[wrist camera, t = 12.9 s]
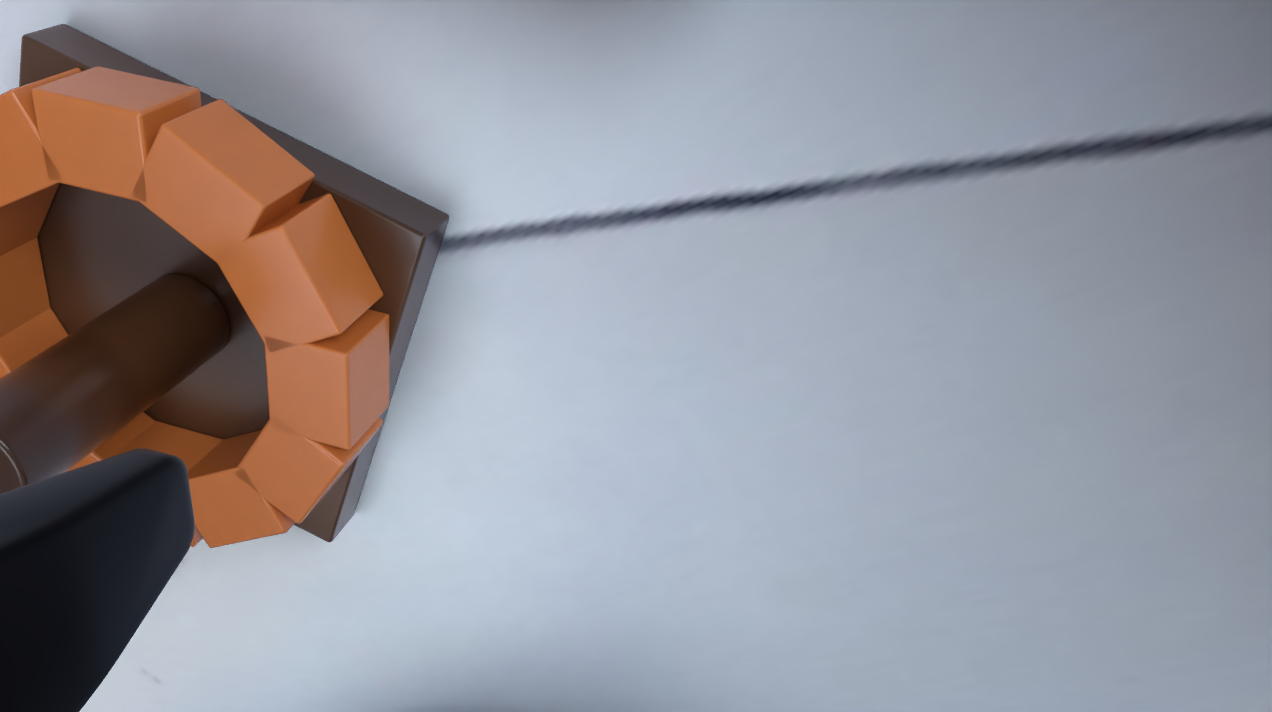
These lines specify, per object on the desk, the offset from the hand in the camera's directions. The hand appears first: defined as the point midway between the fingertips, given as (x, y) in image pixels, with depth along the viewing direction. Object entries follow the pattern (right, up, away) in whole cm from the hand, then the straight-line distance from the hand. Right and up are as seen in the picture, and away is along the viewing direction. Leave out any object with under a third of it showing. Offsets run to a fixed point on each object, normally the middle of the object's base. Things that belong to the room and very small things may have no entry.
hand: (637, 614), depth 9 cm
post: (-9, +4, +15) cm, 18 cm away
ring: (-10, +3, +14) cm, 17 cm away
